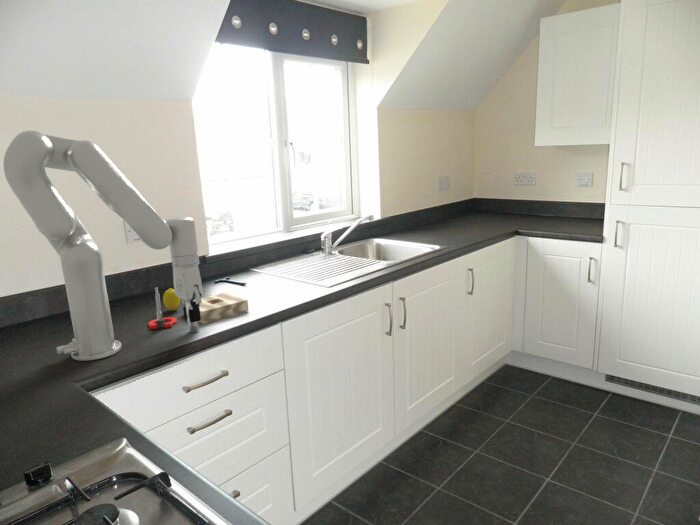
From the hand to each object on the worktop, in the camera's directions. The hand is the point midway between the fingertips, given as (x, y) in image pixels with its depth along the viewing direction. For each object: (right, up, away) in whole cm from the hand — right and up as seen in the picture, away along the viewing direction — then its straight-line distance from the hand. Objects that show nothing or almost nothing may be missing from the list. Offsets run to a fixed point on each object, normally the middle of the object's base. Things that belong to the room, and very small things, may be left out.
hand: (192, 319), depth 155 cm
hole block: (+3, 0, +17) cm, 17 cm away
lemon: (-13, 0, +22) cm, 26 cm away
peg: (0, -4, +1) cm, 4 cm away
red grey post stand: (-12, -3, +9) cm, 15 cm away
